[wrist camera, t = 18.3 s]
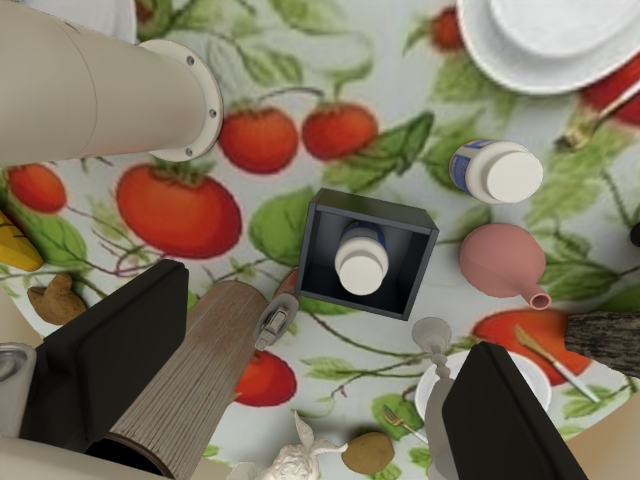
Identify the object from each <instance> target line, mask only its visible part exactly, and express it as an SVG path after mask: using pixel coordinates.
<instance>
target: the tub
mask: <svg viewBox="0 0 640 480" xmlns="http://www.w3.org/2000/svg"><path fill="white" fill-rule="evenodd" d="M357 221H366V222H371V223H373V224H375V225H376V226H378V227H379V228H380V230H381V231H382V233H383V235H384V237H385V242H386V249H387V255H388V263H389V265H388V270H387V273H386V275H385V277H384V278H383V280H382V283H381V285H380V286H379V288H378V289H377V290H376V291H374V292H372V293H370V294H367V295H357V294H353V293H351V292H349V291H348V290H346V289H345V288H344V286H343V285H342V283H341V281H340V277H339V275H338V273H337V271H336V268H335V257H336V253H337V249H338V246H339V242H340V238H341V235H342V233H343V231H344V230H345V228H346V227H347V226H349V225H350V224H352V223H354V222H357ZM438 234H439V229H438V228H437V226H436V225H435V223H434V222H433V221H432V219H431V218H430V216H429V215H428V213H427V212H426V210H424V209H419V208H414V207H410V206H405V205H400V204H396V203H391V202H386V201H382V200H377V199H372V198H368V197H363V196H358V195H354V194H349V193H344V192H340V191H335V190H330V189H325V188H321V189H320V190H319V191H318V192H317V194H316V195H315V196H314V198H313V199H312V200H311V201H310V203H309V208H308V214H307V220H306V226H305V231H304V237H303V243H302V249H301V255H300V260H299V266H298V272H297V278H296V283H295V289H294V294H296V295H300V296H304V297H308V298H312V299H316V300H320V301H325V302H329V303H333V304H337V305H341V306H345V307H349V308H353V309H358V310H362V311H366V312H370V313H374V314H378V315H382V316H386V317H390V318H395V319H399V320H403V321H408V319H409V316H410V313H411V310H412V307H413V304H414V302H415V299H416V296H417V293H418V290H419V287H420V285H421V282H422V279H423V276H424V273H425V270H426V268H427V265H428V262H429V259H430V256H431V253H432V251H433V248H434V245H435V242H436V239H437V236H438Z"/></svg>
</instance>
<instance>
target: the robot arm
mask: <svg viewBox="0 0 640 480" xmlns="http://www.w3.org/2000/svg"><path fill="white" fill-rule="evenodd" d="M193 61H194V64H193ZM215 112H216V114H217V115H216V116H215ZM222 120H223V102H222V97H221V93H220V89H219V86H218V84H217V81H216V79H215V77H214V75H213V74H212V72H211V70H210V69H209V67H208V66H207V65H206V64H205V62H204V61H203V60H202V59H201V58H200V57H199V56H198V55H196V54H195V53H194V52H193V51H191V50H190V49H188V48H186V47H184V46H182V45H180V44H178V43H175V42H173V41H168V40H162V39H157V40H149V41H146V42H143V43H140V44H139V45H137V46H136V45H133V44H131V43H128V42H125V41H122V40H119V39H117V38H114V37H111V36H108V35H105V34H103V33H100V32H97V31H94V30H91V29H88V28H86V27H83V26H80V25H77V24H74V23H72V22H69V21H66V20H63V19H60V18H58V17H55V16H52V15H49V14H46V13H44V12H41V11H38V10H35V9H33V8H30V7H28V6H25V5H22V4H19V3H16V2H14V1H11V0H0V167H7V166H14V165H22V164H30V163H39V162H49V161H59V160H69V159H79V158H88V157H98V156H108V155H117V154H127V153H136V152H146V151H147V152H149V153H150V154H152V155H154V156H156V157H158V158H160V159H163V160H167V161H174V162H181V161H188V160H192V159H195V158H197V157H199V156H202V155H203V154H204V153H205V152H207V151H208V150H209V149H210V148H211V147H212V145H213V144H214V143H215V141H216V139H217V137H218V135H219V133H220V130H221V126H222ZM191 151H192V152H191ZM188 281H189V271H188V269H187V268H185V265H184V264H183V263H181V262H177V261H174V260H170V259H163V260H161V261H160V262H158V263H157V264H155V265H154V266H152V267H151V268H149V269H148V270H146V271H145V272H143V273H142V274H140V275H139V276H137V277H136V278H134V279H133V280H131V281H130V282H128V283H127V284H125V285H124V286H122V287H121V288H119V289H118V290H116V291H115V292H113V293H112V294H110V295H109V296H107V297H106V298H104V299H103V300H101V301H100V302H98V303H97V304H95V305H94V306H92V307H91V308H89V309H88V310H86V311H85V312H83V313H82V314H80V315H79V316H77V317H76V318H74V319H73V320H71V321H70V322H68V323H67V324H65V325H64V326H62V327H60V328H59V329H57V330H56V331H54V332H53V333H51V334H50V335H48V336H47V337H45V338H44V339H43V340H44V343H43V344H41V345H40V346H38V347H37V348H35V349H34V348H33V347H32V346H30V345H27V344H24V343H16V342H9V343H0V480H173V479H169V478H166V477H162V476H159V475H156V474H152V473H149V472H145V471H142V470H138V469H135V468H132V467H128V466H125V465H121V464H118V463H114V462H111V461H107V460H103V459H100V458H96V457H92V456H88V455H85V454H84V453H85V452H86V450H87V449H88V448H89V447H90V446H91V445H92V443H93V442H94V441H96V442H98V441H100V440H102V439H103V438H104V437H105V436H106V435H107V433H108V432H109V431H110V430H111V429H112V427H113V426H114V425H115V424H116V423H117V421H118V420H119V419H120V418H121V417H122V415H123V414H124V413H125V412H126V411H127V409H128V408H129V407H130V406H131V405H132V403H133V402H134V401H135V400H136V399H137V397H138V396H139V395H140V394H141V393H142V391H143V390H144V389H145V388H146V387H147V385H148V384H149V383H150V382H151V381H152V379H153V378H154V377H155V376H156V375H157V373H158V372H159V371H160V370H161V369H162V367H163V366H164V365H165V364H166V363H167V361H168V360H169V359H170V358H171V357H172V355H173V354H174V353H175V352H176V351H177V349H178V348H179V347H180V346H181V344H182V343H183V341H184V339H185V335H186V321H187V301H188ZM441 412H442V419H443V422H444V426H445V430H446V433H447V437H448V441H449V445H450V448H451V452H452V456H453V459H454V463H455V467H456V471H457V474H458V478H459V480H589V479H588V478H587V476H586V475H585V473H584V472H583V470H582V468H581V467H580V466H579V464H578V462H577V461H576V459H575V458H574V456H573V454H572V453H571V451H570V450H569V448H568V446H567V445H566V444H565V442H564V440H563V439H562V437H561V435H560V434H559V432H558V431H557V429H556V428H555V426H554V424H553V423H552V421H551V420H550V418H549V417H548V415H547V413H546V412H545V410H544V409H543V407H542V406H541V404H540V402H539V401H538V399H537V398H536V396H535V395H534V393H533V391H532V390H531V388H530V387H529V385H528V384H527V382H526V381H525V379H524V377H523V376H522V374H521V373H520V371H519V370H518V368H517V366H516V365H515V363H514V362H513V360H512V359H511V357H510V355H509V354H508V352H507V351H506V349H505V348H504V347H503V346H500V345H496V344H492V343H489V342H485V341H482V342H480V343H479V344H475V345H473V347H472V348H471V350H470V352H469V354H468V356H467V358H466V360H465V362H464V364H463V366H462V368H461V370H460V371H459V373H458V375H457V377H456V379H455V381H454V383H453V385H452V387H451V389H450V391H449V393H448V395H447V397H446V399H445V401H444V402H443V405H442V411H441ZM66 449H67V450H66Z"/></svg>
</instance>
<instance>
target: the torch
mask: <svg viewBox="0 0 640 480" xmlns="http://www.w3.org/2000/svg"><path fill="white" fill-rule="evenodd" d="M0 261H1V262H3V263H5V264H8V265H11V266H13V267H16V268H19V269H22V270H24V271H27V272H33V271H36V270H38V269H39V268H41V267H42V266H43V264H44V261H43V259H42V258H41V256H40V255H39V253H38V252H37V250H36V249H35V247H34V246H33V245H32V244H31V243H30V242H29V240H28V239H27V238H26V237H24V235H23V234H22V233H21V232H20V231H19V230H18V229H17V228H16V227H15V226H14V225H13V223H12V222H11V221H10V220H9V219H8V218H7V217H6V216H5V215H4V214H3V213H2V212H1V210H0Z"/></svg>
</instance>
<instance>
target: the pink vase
mask: <svg viewBox="0 0 640 480" xmlns="http://www.w3.org/2000/svg"><path fill="white" fill-rule="evenodd" d="M459 264H460V268H461V272H462V274H463V275H464V277H465V278H466V279H467V281H468V282H469V283H470V284H472V285H473V286H474V287H476V288H477V289H478V290H480V291H481V292H483V293H485V294H486V295H488V296H493V297H498V298H506V297H514V296H517V295H521V296H522V297H523V298H524V299H525V300H526V301H527V302H528V304H529V305H530V306H531V307H532V308H534V309H536V310H543V309H545V308H547V307H548V306H549V305H550V304H551V297H550V296H549V295H548V294H547V293H546V292H545V291H544V290H542V289H541V288H540V287H539V286H538V285H537V282H538V281H539V280H540V278H541V277H542V276H543V273H544V270H545V266H546V260H545V254H544V252H543V250H542V249H541V247H540V246H539V245H538V243H537V242H536V241H535V239H534V238H533V237H532V235H531V234H530V233H529V232H527V231H526V230H524V229H522V228H521V227H519V226H514V225H509V224H498V223H494V224H487V225H483V226H481V227H478V228H476V229H474V230H473V231H472V232H471V233H469V234H468V235H467V236H466V237H465V239H464V241H463V243H462V244H461V248H460V256H459Z"/></svg>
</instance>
